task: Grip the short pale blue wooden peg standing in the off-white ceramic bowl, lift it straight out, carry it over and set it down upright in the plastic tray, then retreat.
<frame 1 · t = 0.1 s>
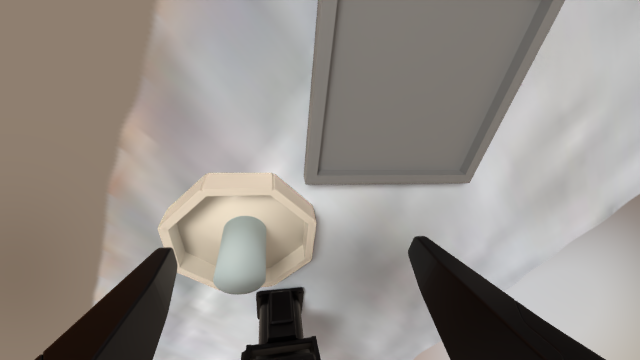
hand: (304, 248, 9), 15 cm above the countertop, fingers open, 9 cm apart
tray: (413, 88, 22), on the countertop
peg: (245, 231, 27), resting on bowl
bowl: (245, 228, 28), on the countertop
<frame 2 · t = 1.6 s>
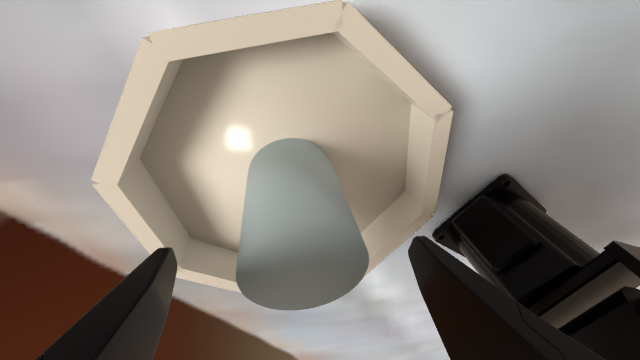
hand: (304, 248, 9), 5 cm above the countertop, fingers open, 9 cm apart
peg: (291, 176, 13), resting on bowl
bowl: (291, 172, 14), on the countertop
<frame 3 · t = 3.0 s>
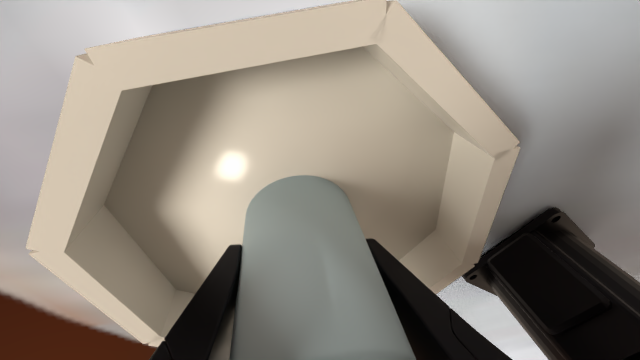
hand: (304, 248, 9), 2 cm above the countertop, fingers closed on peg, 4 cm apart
peg: (300, 219, 11), resting on bowl, touching gripper
bowl: (298, 213, 11), on the countertop
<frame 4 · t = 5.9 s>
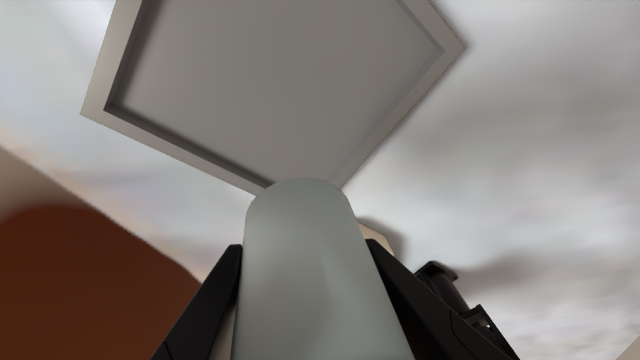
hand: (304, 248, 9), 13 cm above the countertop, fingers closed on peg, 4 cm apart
tray: (280, 74, 18), on the countertop
peg: (300, 221, 11), point 11 cm above the countertop, touching gripper
bowl: (326, 266, 30), on the countertop
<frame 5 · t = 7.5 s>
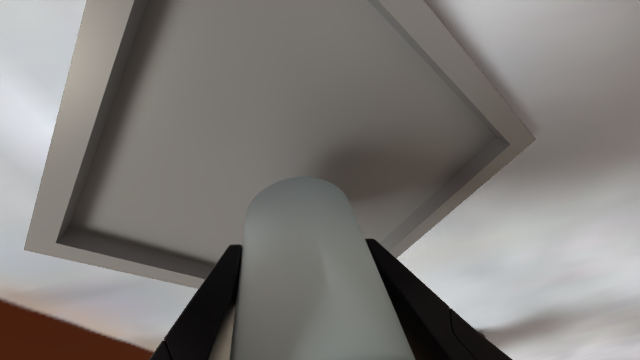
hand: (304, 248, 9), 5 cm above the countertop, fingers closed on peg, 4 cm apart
tray: (292, 173, 14), on the countertop
peg: (300, 220, 11), point 4 cm above the countertop, touching gripper
when the fingers open (4 cm above the countertop, at t = 8.6 s): peg drops 2 cm, resting on tray.
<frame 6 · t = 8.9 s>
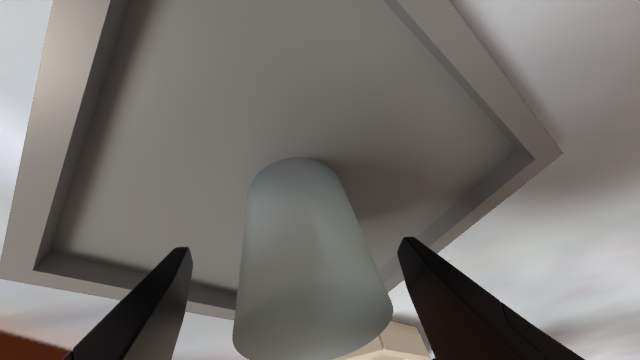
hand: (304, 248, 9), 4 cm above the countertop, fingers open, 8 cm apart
tray: (295, 190, 12), on the countertop
peg: (296, 198, 12), point 1 cm above the countertop, touching tray
bowl: (345, 359, 25), on the countertop
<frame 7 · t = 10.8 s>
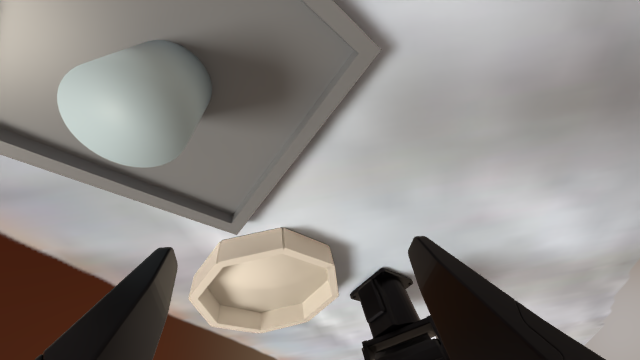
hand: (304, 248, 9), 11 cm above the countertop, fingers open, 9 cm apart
tray: (174, 78, 15), on the countertop
peg: (171, 82, 15), point 1 cm above the countertop, touching tray
bowl: (269, 276, 29), on the countertop
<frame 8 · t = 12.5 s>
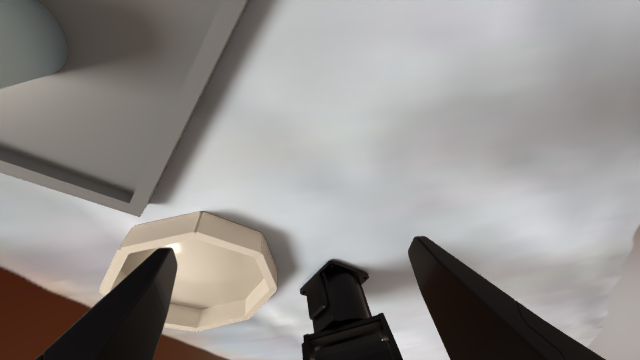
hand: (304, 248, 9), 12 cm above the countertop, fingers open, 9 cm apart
tray: (22, 28, 14), on the countertop
peg: (13, 30, 13), point 1 cm above the countertop, touching tray
bowl: (201, 268, 26), on the countertop
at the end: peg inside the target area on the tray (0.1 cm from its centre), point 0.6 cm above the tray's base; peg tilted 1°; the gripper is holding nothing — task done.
